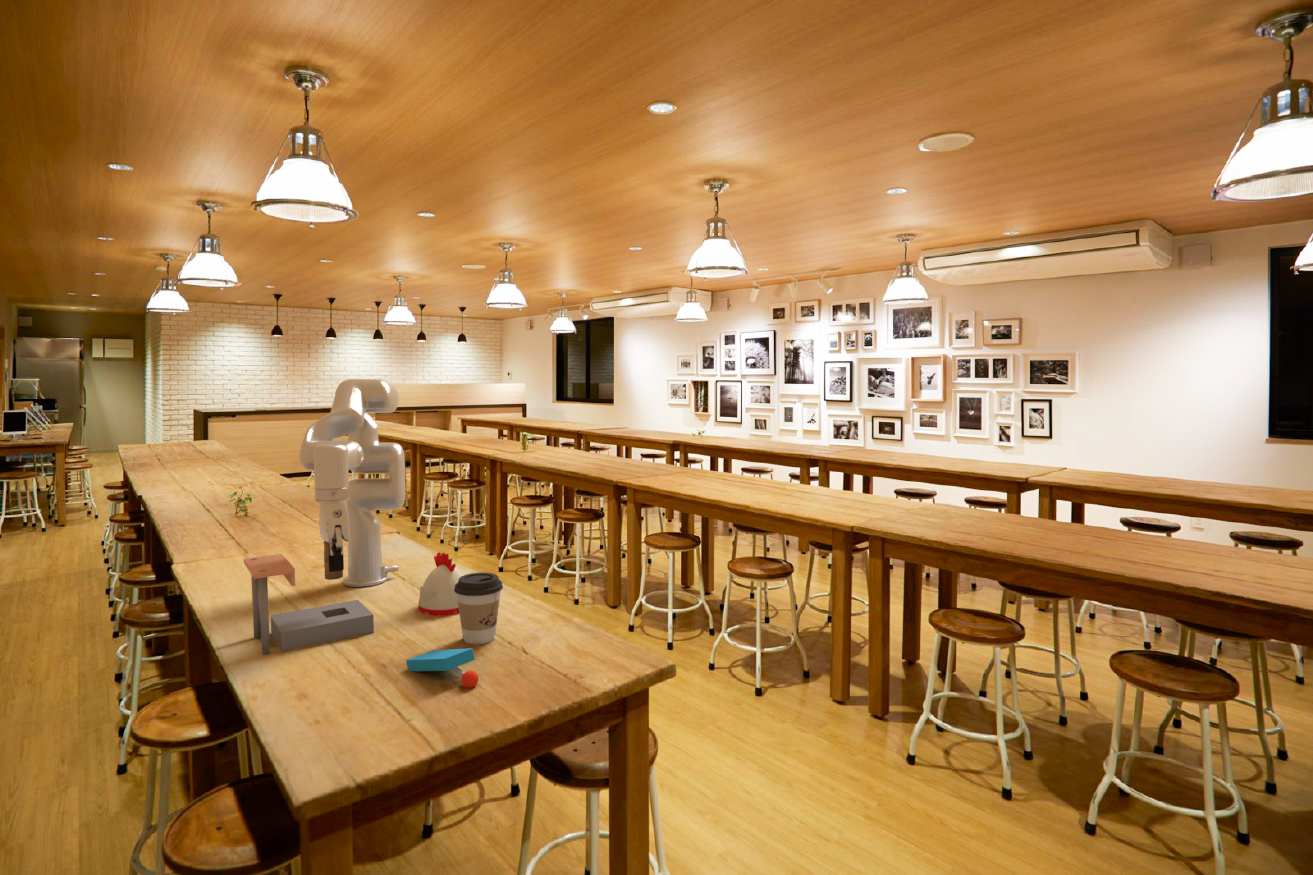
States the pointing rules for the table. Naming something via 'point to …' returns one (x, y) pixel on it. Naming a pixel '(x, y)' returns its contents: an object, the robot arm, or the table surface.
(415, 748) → the table surface
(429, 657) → the lever
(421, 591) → the kitchen timer
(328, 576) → the walnut peg
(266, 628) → the pink topped stand
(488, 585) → the coffee cup
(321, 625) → the socket block
